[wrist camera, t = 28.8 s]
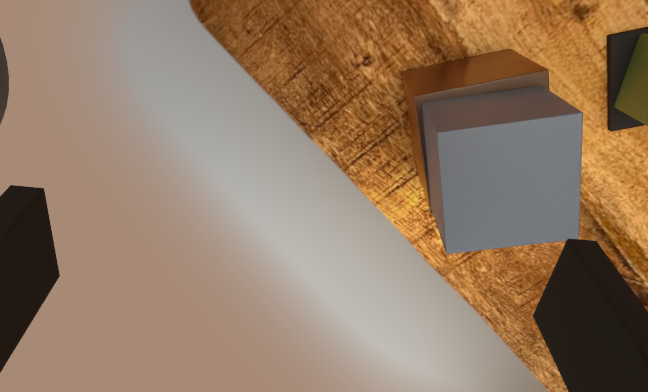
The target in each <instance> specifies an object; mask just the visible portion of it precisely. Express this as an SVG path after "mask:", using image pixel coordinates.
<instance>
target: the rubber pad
mask: <svg viewBox="0 0 648 392" xmlns="http://www.w3.org/2000/svg"><path fill="white" fill-rule="evenodd" d="M641 33H644V34H648V27H645V28H640V29H636V30H631V31H626V32H621V33H616V34H611V35H608V130H610V131H616V130H621V129H627V128H632V127H637V126H643V125H645V124H644V123H642V122H640V121H638V120H636V119H635V118H633V117H631V116H629V115H627V114H626V113H624V112H622V111H620V110H618V109H617V108H615V107H614V104H615V101H616V99H617V96H618V93H619V90H620V88H621V85H622V82H623V79H624V77H625V74H626V71H627V68H628V66H629V63H630V60H631V57H632V55H633V52H634V49H635V46H636V44H637V41H638V38H639V35H640V34H641Z"/></svg>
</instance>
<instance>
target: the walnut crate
mask: <svg viewBox="0 0 648 392" xmlns="http://www.w3.org/2000/svg"><path fill="white" fill-rule="evenodd" d="M401 73H402V79H403V85H404V92H405V98H406V104H407V111H408V117H409V123H410V130H411V136H412V143H413V149H414V155H415V162H416V168H417V172H418V175H419V178H420V181H421V184H422V187H423V191H424V194H425V197H426V200H427V203H428V206H429V209H430V212H431V213H433V212H432V209H431V203H430V191H429V180H428V168H427V156H426V145H425V133H424V122H423V110H422V103H423V102H429V101H436V100H443V99H450V98H457V97H464V96H471V95H478V94H485V93H492V92H499V91H506V90H513V89H520V88H527V87H534V86H543V87H545V88H546V89H548V90H549V73H548V69H546V68H544V67H542V66H540V65H539V64H537V63H535V62H533V61H531V60H530V59H528V58H526V57H524V56H523V55H521V54H519V53H517V52H515V51H514V50H512V49H508V50H503V51H498V52H493V53H488V54H484V55H479V56H474V57H469V58H464V59H459V60H455V61H450V62H445V63H440V64H435V65H430V66H425V67H421V68H416V69H411V70H406V71H402V72H401Z"/></svg>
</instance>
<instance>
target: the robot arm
mask: <svg viewBox="0 0 648 392" xmlns="http://www.w3.org/2000/svg"><path fill="white" fill-rule="evenodd" d="M59 276H60V275H59V270H58V264H57V259H56V253H55V248H54V242H53V236H52V231H51V225H50V220H49V215H48V209H47V203H46V197H45V192H44V189H43V188H34V187H23V186H13V185H11V186H10V187H9V188H8V189H7V190H6V191H5V192H4V193H3V194H2V195H1V196H0V372H1V371H2V369H3V367H4V366H5V364H6V362H7V361H8V359H9V358H10V355H11V354H12V353H13V351H14V349H15V348H16V346H17V344H18V343H19V341H20V339H21V338H22V336H23V335H24V333H25V331H26V330H27V328H28V326H29V325H30V323H31V322H32V320H33V318H34V317H35V315H36V314H37V312H38V310H39V308H40V307H41V305H42V304H43V302H44V301H45V299H46V297H47V296H48V294H49V292H50V291H51V289H52V288H53V286H54V284H55V283H56V281H57V279H58V278H59ZM533 317H534V319H535V321H536V323H537V325H538V327H539V329H540V332H541V334H542V336H543V338H544V340H545V342H546V344H547V346H548V349H549V351H550V353H551V355H552V357H553V359H554V361H555V363H556V366H557V368H558V370H559V372H560V374H561V376H562V378H563V380H564V383H565V385H566V387H567V389H568V391H569V392H648V312H647V310H646V309H645V308H644V306H643V305H642V303H641V302H640V301H639V299H638V298H637V297H636V295H635V294H634V292H633V291H632V290H631V288H630V287H629V286H628V284H627V283H626V281H625V280H624V279H623V277H622V276H621V275H620V273H619V272H618V270H617V269H616V268H615V266H614V265H613V264H612V262H611V261H610V259H609V258H608V257H607V255H606V254H605V253H604V251H603V250H602V248H601V247H600V246H599V244H598V243H597V241H589V240H578V239H568V240H567V242H566V244H565V246H564V248H563V251H562V253H561V255H560V257H559V259H558V262H557V264H556V266H555V268H554V270H553V273H552V275H551V277H550V279H549V282H548V284H547V286H546V288H545V290H544V293H543V295H542V297H541V299H540V301H539V304H538V306H537V308H536V310H535V312H534V315H533Z"/></svg>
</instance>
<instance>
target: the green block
mask: <svg viewBox="0 0 648 392" xmlns="http://www.w3.org/2000/svg"><path fill="white" fill-rule="evenodd" d="M614 107H615V108H617V109H618V110H620V111H622V112H624V113H626V114H627V115H629V116H631V117H633V118H635V119H636V120H638V121H640V122H642V123H644V124H645V125H647V126H648V34H644V33H641V34H640V35H639V38H638V41H637V44H636V46H635V49H634V52H633V55H632V57H631V60H630V63H629V66H628V68H627V71H626V74H625V77H624V79H623V82H622V85H621V88H620V90H619V93H618V96H617V99H616V101H615V104H614Z"/></svg>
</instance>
